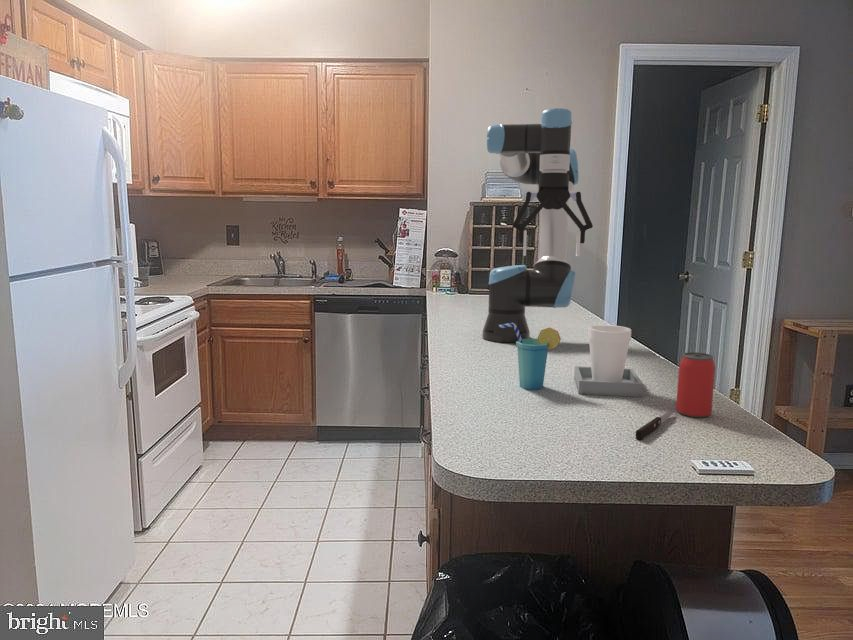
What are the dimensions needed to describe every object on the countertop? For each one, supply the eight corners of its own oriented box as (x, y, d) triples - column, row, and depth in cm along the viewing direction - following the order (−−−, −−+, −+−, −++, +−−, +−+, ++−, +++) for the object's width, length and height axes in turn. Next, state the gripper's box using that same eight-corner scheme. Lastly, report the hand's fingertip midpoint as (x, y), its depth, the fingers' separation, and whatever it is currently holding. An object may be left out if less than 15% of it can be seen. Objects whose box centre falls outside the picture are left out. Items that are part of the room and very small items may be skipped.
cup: (498, 390, 139) (499, 325, 136) (496, 381, 147) (498, 319, 144) (560, 392, 138) (563, 326, 136) (555, 382, 146) (558, 320, 143)
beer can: (709, 410, 126) (714, 353, 124) (712, 420, 120) (718, 360, 118) (674, 406, 128) (679, 350, 126) (676, 416, 122) (681, 357, 120)
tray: (574, 378, 150) (574, 366, 149) (632, 380, 148) (632, 368, 147) (578, 393, 137) (579, 380, 136) (642, 397, 135) (643, 383, 134)
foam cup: (629, 390, 137) (633, 333, 134) (587, 388, 138) (590, 331, 136) (624, 379, 146) (628, 325, 144) (584, 377, 148) (587, 324, 145)
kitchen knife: (640, 442, 108) (641, 431, 108) (634, 440, 109) (635, 430, 109) (674, 416, 122) (675, 407, 122) (669, 415, 123) (670, 406, 122)
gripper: (504, 171, 155) (502, 256, 159) (606, 171, 151) (601, 257, 155) (505, 173, 162) (503, 254, 166) (602, 173, 158) (598, 255, 162)
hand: (550, 256), depth 160 cm, fingers open, 13 cm apart
